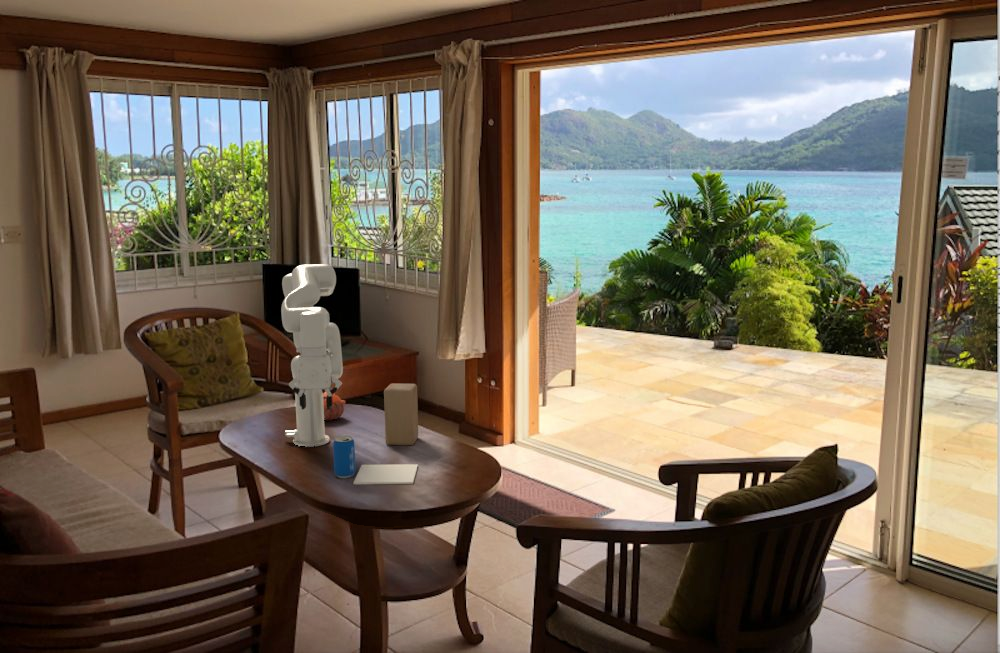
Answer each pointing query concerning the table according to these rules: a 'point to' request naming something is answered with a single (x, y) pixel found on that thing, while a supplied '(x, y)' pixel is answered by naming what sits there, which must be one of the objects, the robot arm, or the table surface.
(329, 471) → the table surface
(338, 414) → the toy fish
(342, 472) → the beverage can
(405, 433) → the wooden block
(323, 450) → the table surface
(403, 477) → the mat
